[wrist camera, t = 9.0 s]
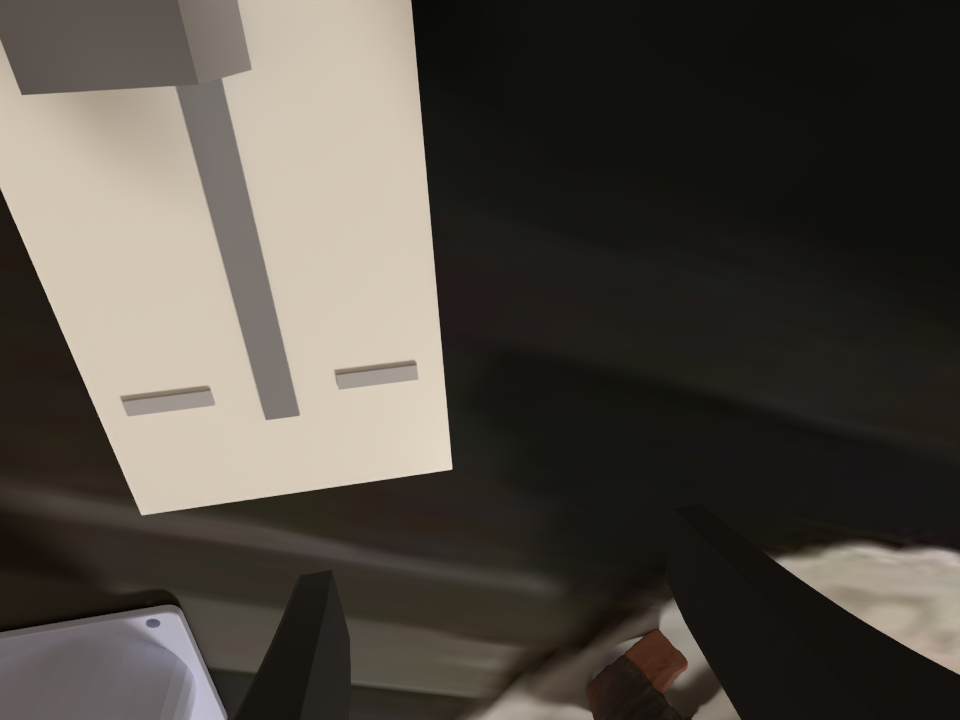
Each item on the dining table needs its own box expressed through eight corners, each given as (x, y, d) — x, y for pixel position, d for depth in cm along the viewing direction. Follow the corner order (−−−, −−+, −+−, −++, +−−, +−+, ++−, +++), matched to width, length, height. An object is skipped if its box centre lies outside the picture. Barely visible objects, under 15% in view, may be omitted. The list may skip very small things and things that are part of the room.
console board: (160, 475, 21) (140, 517, 19) (-241, -544, 10) (-378, -675, 8) (445, 435, 22) (452, 471, 20) (358, -506, 11) (358, -612, 9)
